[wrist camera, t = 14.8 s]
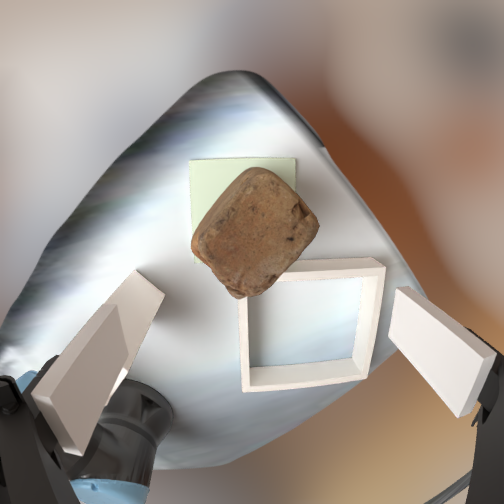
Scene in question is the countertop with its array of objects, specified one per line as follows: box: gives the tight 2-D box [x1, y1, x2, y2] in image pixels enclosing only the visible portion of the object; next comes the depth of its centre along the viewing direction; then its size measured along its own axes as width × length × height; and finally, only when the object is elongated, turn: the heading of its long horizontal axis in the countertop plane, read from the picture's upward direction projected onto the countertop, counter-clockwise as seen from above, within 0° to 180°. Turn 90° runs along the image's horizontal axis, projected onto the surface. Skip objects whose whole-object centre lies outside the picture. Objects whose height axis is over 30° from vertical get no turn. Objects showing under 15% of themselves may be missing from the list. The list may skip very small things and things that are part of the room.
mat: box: [189, 158, 296, 263], centre depth 40 cm, size 14×14×1 cm
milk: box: [104, 270, 165, 406], centre depth 32 cm, size 6×6×22 cm
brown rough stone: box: [191, 167, 320, 299], centre depth 30 cm, size 11×8×20 cm
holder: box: [238, 257, 386, 392], centre depth 43 cm, size 20×19×5 cm
